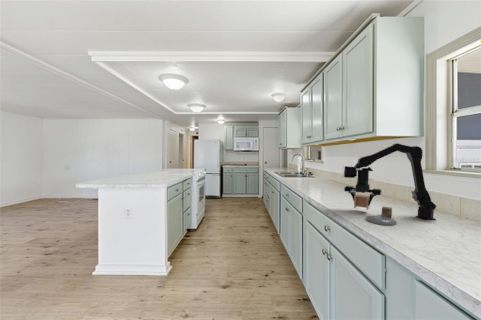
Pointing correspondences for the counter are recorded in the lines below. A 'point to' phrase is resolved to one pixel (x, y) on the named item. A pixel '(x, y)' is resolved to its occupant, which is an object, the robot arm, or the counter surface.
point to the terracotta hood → (361, 201)
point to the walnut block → (387, 212)
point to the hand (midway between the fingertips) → (361, 204)
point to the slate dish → (381, 220)
